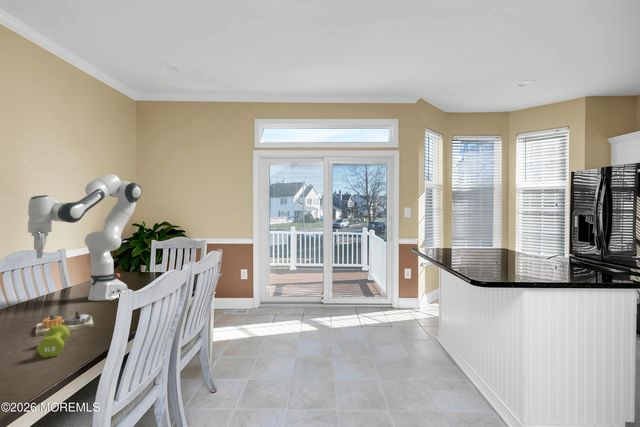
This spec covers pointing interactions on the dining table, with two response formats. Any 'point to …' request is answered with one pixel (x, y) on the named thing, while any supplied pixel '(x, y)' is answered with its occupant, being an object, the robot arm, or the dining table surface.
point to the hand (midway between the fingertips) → (39, 257)
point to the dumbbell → (53, 341)
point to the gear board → (44, 330)
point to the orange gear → (52, 322)
